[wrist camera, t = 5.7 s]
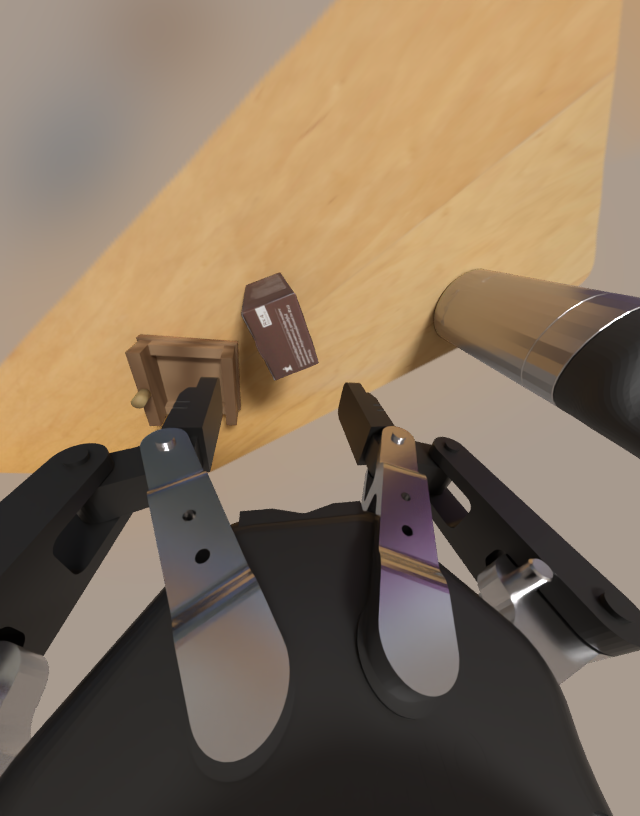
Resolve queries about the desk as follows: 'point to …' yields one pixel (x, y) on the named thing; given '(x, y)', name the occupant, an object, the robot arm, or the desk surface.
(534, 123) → the desk surface
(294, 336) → the box
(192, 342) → the drawer
